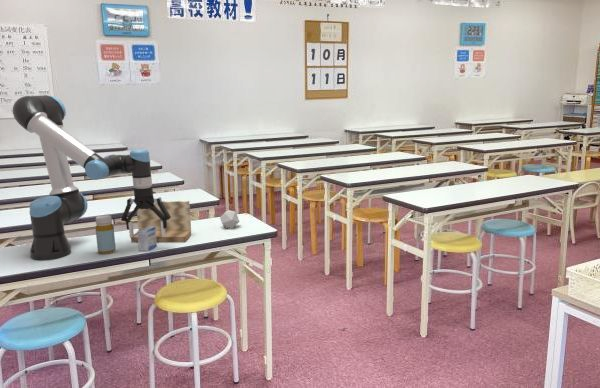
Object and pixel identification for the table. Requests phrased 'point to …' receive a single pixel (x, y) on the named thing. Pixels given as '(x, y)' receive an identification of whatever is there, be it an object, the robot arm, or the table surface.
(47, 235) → the robot arm
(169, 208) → the cleat board
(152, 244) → the medicine box
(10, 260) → the table surface
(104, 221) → the bottle
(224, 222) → the die
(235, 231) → the table surface
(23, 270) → the table surface
